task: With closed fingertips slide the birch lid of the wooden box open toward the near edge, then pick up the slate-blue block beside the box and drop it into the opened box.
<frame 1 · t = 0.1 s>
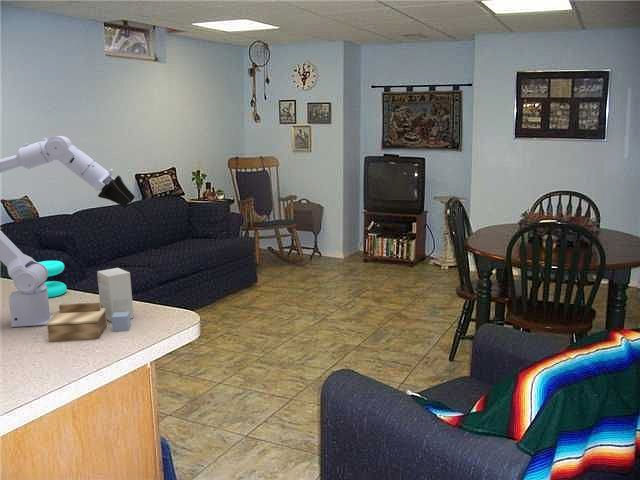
hand: (130, 202, 180), 32 cm above the counter, tool tilted 50°, fingers open, 7 cm apart
small box: (117, 318, 186), on the counter
block: (121, 328, 176), on the counter
donuts: (50, 295, 210), on the counter
lid: (76, 312, 172), point 6 cm above the counter, slide at 0.0 cm
wooden box: (78, 333, 173), on the counter
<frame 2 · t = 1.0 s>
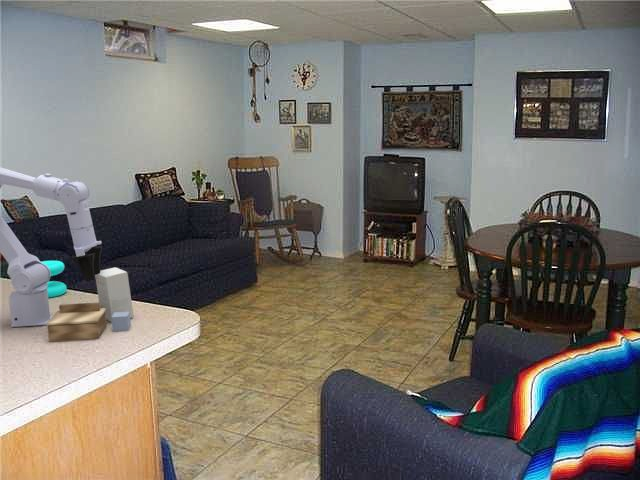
hand: (93, 277, 178), 13 cm above the counter, tool pointing down, fingers open, 7 cm apart
small box: (117, 317, 185), on the counter, touching gripper
everything else where it was.
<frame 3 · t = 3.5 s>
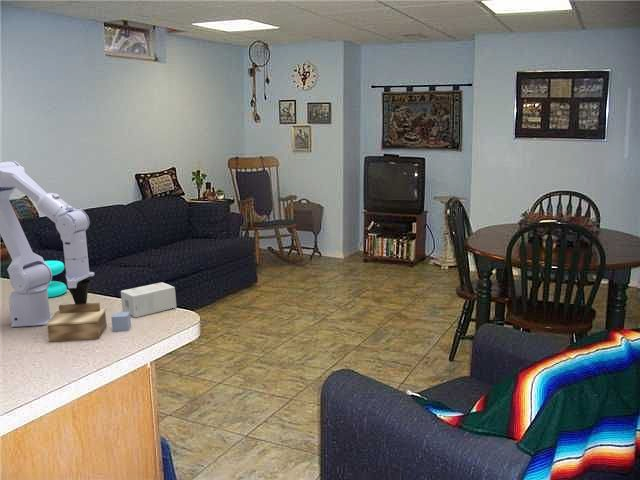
hand: (81, 307, 177), 5 cm above the counter, tool pointing down, fingers closed
small box: (126, 304, 187), point 3 cm above the counter
lid: (76, 313, 172), point 6 cm above the counter, slide at 0.3 cm, touching gripper
everything else where it was.
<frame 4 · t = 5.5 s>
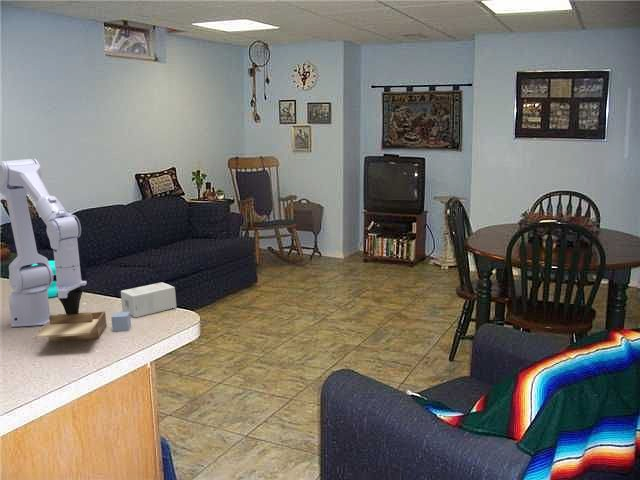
hand: (72, 318, 168), 5 cm above the counter, tool pointing down, fingers closed
lid: (67, 324, 163), point 6 cm above the counter, slide at 9.1 cm, touching gripper
everything else where it was.
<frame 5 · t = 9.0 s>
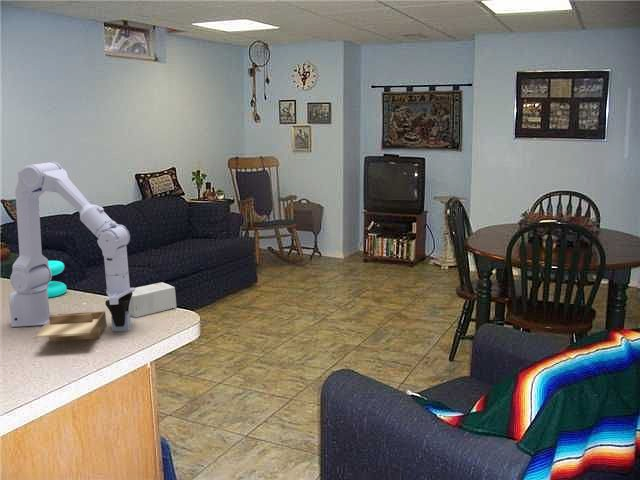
hand: (121, 323, 176), 1 cm above the counter, tool pointing down, fingers closed on block, 4 cm apart
block: (121, 328, 176), on the counter, touching gripper
lid: (67, 324, 163), point 6 cm above the counter, slide at 9.1 cm
everything else where it was.
when the fingers open (5 cm above the counter, at t = 11.6 s): block drops 3 cm, resting on wooden box.
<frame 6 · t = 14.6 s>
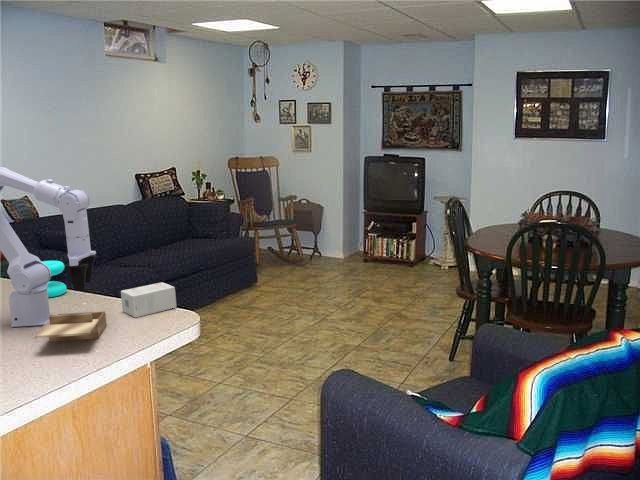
hand: (83, 286, 179), 10 cm above the counter, tool pointing down, fingers open, 7 cm apart
block: (80, 330, 174), resting on wooden box
everything else where it was.
at the end: lid slide at 9.1 cm; block inside the target area on the wooden box (1.0 cm from its centre), point 0.5 cm above the wooden box's base; the gripper is holding nothing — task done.
